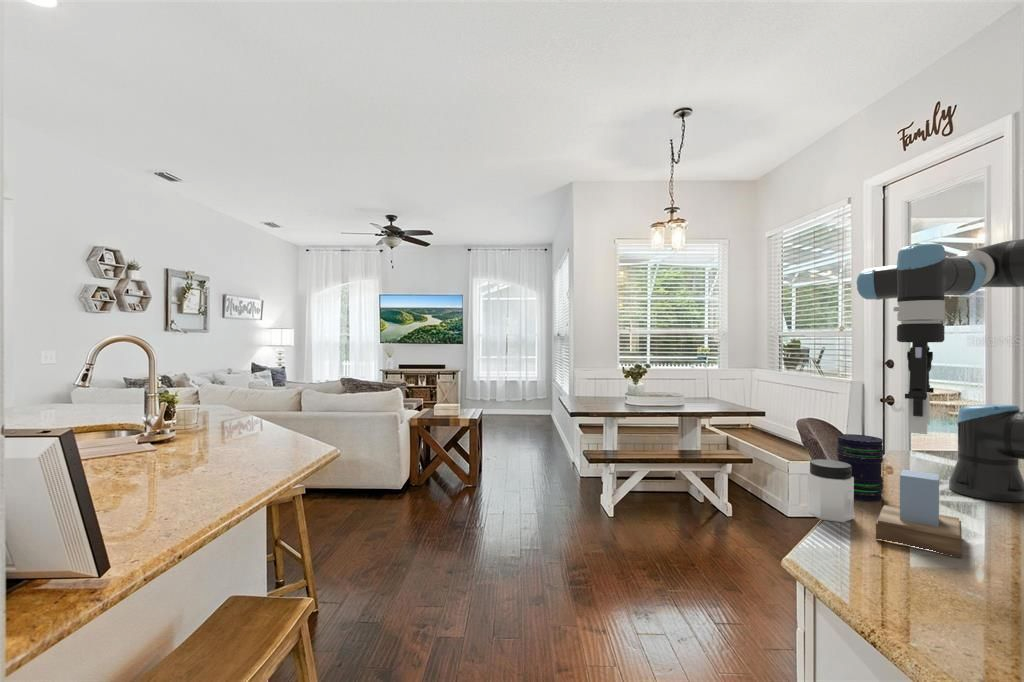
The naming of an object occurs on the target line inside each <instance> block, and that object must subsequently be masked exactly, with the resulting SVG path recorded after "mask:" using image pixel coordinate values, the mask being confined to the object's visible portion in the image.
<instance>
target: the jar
mask: <svg viewBox="0 0 1024 682" xmlns="http://www.w3.org/2000/svg"><path fill="white" fill-rule="evenodd" d="M854 501H855V500H854V477H852V466H851V465H850V464H848V463H845V462H840V461H838V460H833V459H825V458H823V459H821V458H820V459H812V460H810V461H809V472H807V513H808V514H810V515H812V516H814V517H815V518H817V519H819V520H821V521H828V522H836V523H843V524H844V523H847V522H848V521H852V520H853V519H854V517H855V516H854V515H855V514H854V510H855V509H854V504H855V502H854Z"/></svg>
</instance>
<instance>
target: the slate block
mask: <svg viewBox="0 0 1024 682" xmlns="http://www.w3.org/2000/svg"><path fill="white" fill-rule="evenodd" d="M899 508H900V520H903V521H908V522H914V523H919V524H925V525H930V526H936V527H939V515H940V474H939V473H933V472H924V471H918V470H917V471H916V470H911V469H909V470H908V469H901V471H900V474H899Z"/></svg>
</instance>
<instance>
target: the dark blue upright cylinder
mask: <svg viewBox="0 0 1024 682" xmlns="http://www.w3.org/2000/svg"><path fill="white" fill-rule="evenodd" d="M883 443H884V440H883V439H882V438H880V437H876V436H872V435H866V434H850V433H849V434H845V433H843V434H838V435H837V445H836V450H837V451H836V457H837V458H838V459H837V461H840V462H845V463H848V464H850V465H851V466H852V477H854V501H857V502H863V503H865V502H866V503H878V502H881V501H883V496H882V494H883V490H884V484H883V483H884V478H883V476H882V463H883V461H884V457H883V456H884V450H883Z"/></svg>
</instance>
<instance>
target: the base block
mask: <svg viewBox="0 0 1024 682" xmlns="http://www.w3.org/2000/svg"><path fill="white" fill-rule="evenodd" d="M962 534H963V533H962V521H961V520H960V518H959V517H954V516H948V515H943V514H939V527H936V526H930V525H925V524H919V523H914V522H908V521H903V520H900V507H897V506H892V505H888V504H887V505H886V504H884V505H883V506H881V511H880V513H879V515H878V517H877V520H876V522H875V540H876V539H882V540H887V541H892V542H898V543H903V544H907V545H910V546H915V547H919V548H923V549H929V550H933V551H936V552H939V553H943V554H947V555H946V556H948V555H952V556H957V557H963V536H962ZM943 554H942V555H943ZM952 556H951V557H952ZM957 557H956V558H957Z"/></svg>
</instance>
